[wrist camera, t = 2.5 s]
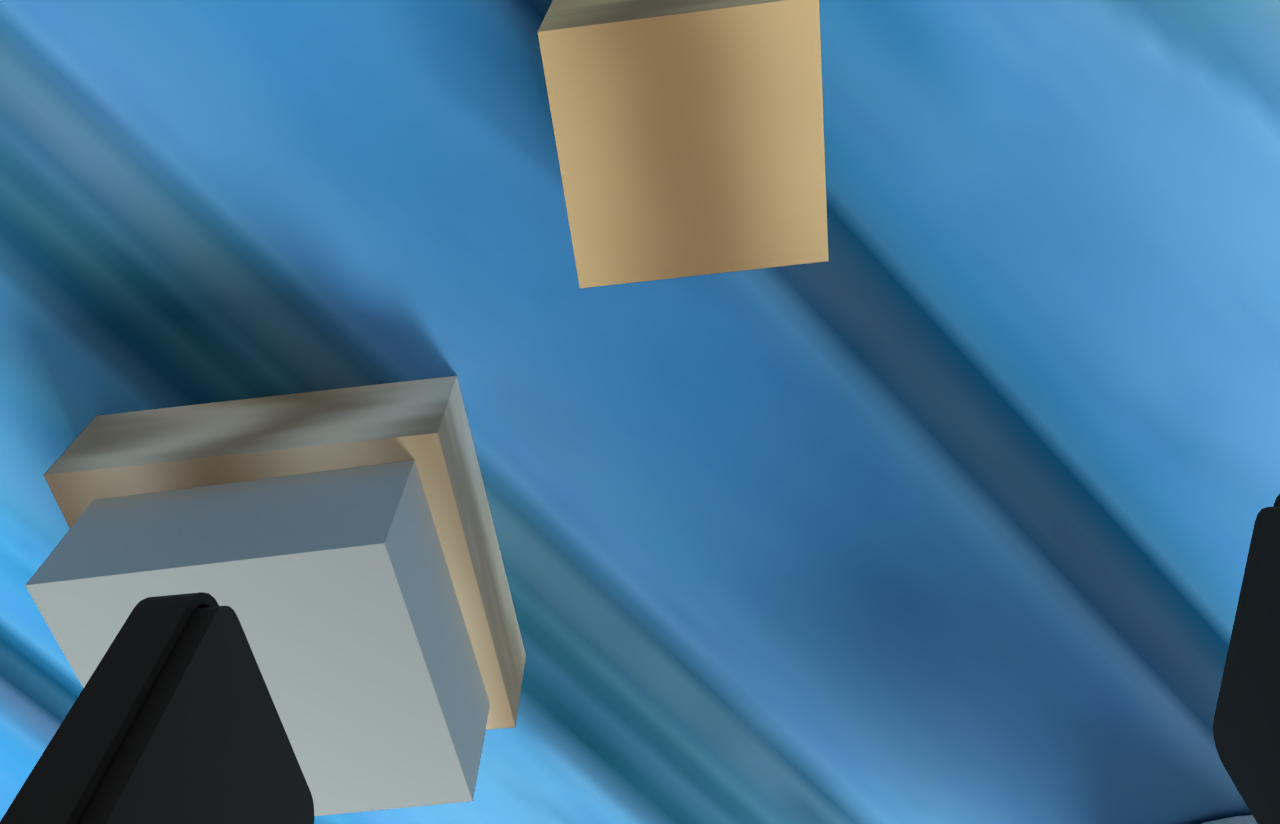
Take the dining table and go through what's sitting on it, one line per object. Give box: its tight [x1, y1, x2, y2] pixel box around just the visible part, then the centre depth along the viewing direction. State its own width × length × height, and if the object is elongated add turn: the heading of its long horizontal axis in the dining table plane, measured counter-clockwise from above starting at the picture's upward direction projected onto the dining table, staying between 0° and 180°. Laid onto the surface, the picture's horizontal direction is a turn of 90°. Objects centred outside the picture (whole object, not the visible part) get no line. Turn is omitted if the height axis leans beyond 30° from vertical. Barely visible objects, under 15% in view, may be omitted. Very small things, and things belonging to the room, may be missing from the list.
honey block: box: [538, 0, 829, 288], centre depth 27 cm, size 6×6×6 cm
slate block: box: [25, 460, 490, 816], centre depth 32 cm, size 10×10×4 cm
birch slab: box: [44, 376, 526, 729], centre depth 36 cm, size 12×12×4 cm
